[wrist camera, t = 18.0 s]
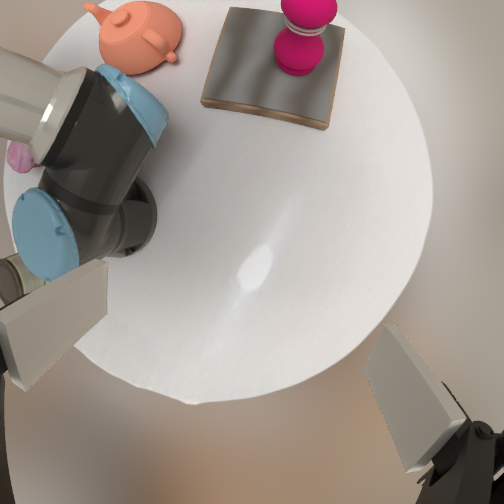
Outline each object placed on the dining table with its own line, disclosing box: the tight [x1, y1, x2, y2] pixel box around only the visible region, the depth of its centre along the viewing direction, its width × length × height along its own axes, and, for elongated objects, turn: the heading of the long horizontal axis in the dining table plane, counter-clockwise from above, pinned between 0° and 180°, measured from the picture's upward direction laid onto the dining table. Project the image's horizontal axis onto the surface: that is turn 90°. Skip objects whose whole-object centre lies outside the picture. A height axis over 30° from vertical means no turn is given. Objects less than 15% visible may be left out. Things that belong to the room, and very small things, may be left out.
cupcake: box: [7, 141, 43, 173], centre depth 39 cm, size 9×9×10 cm
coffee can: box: [0, 253, 50, 305], centre depth 43 cm, size 10×10×14 cm
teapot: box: [83, 1, 182, 75], centre depth 32 cm, size 22×16×12 cm
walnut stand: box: [200, 7, 345, 131], centre depth 37 cm, size 20×20×4 cm
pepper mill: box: [273, 0, 337, 76], centre depth 25 cm, size 7×7×20 cm
